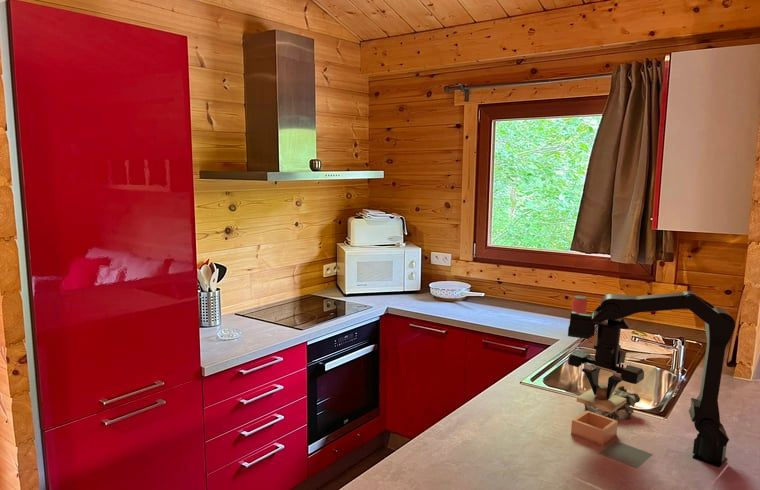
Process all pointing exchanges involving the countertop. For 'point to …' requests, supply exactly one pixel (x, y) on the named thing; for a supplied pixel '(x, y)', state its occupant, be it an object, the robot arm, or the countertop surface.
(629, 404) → the foil
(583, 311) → the beer can
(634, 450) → the mat
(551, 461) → the countertop surface
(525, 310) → the countertop surface
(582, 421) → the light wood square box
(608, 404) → the lid
